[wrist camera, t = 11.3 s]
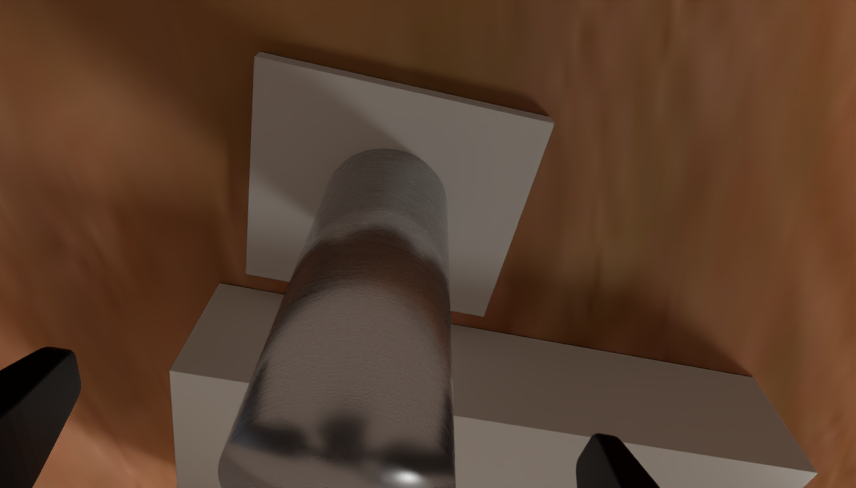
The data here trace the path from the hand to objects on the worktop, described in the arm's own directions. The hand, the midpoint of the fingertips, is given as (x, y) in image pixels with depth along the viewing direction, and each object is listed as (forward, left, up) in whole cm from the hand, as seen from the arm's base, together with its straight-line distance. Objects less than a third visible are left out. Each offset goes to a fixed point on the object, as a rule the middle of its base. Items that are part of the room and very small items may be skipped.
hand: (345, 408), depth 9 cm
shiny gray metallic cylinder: (0, 0, -8) cm, 8 cm away
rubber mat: (0, 0, -8) cm, 8 cm away
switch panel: (-5, +11, -8) cm, 14 cm away
